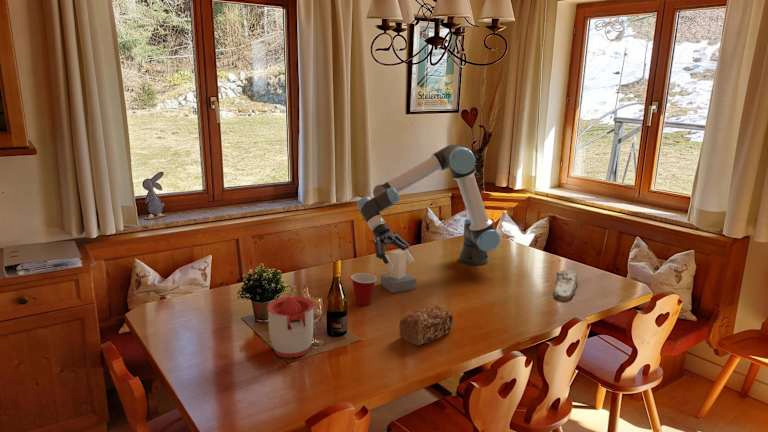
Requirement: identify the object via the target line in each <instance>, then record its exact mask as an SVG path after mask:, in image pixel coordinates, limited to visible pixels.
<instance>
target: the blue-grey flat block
mask: <svg viewBox="0 0 768 432" xmlns="http://www.w3.org/2000/svg"><path fill="white" fill-rule="evenodd" d="M380 285H382V286H383V287H384V288H385V289H387V290H388V291H389V292H390V293H392V294H394V293H401V292H405V291H410V290H412V291H413V290H416V289H417V279H416V278H415V277H413V276H412V275H411V274H409V273H408V272H406V277H403V278H401V279H396V278H392V277H390V272H387V273H382V274H381V273H380Z"/></svg>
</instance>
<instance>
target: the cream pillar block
mask: <svg viewBox="0 0 768 432" xmlns="http://www.w3.org/2000/svg"><path fill="white" fill-rule="evenodd" d="M389 253H390V254H389V256H390V257H389V259H390V261H391V263H392V264H393V266H394V268H393V269H392V270H389V273H390V277H392V278H396V279H401V278H403V277H406V273H407V258H406V251H403V250H402V249H395V250H392V251H390V252H389Z"/></svg>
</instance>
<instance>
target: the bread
mask: <svg viewBox="0 0 768 432" xmlns="http://www.w3.org/2000/svg"><path fill="white" fill-rule="evenodd" d="M452 327H453V315H452V313H451V312H450V310H447V309H445V308H444V307H442V306H440V305H439V306H438V305H433V306H428V307H422V308H419V309H417V310H415V311H411V312H410V313H408V314H406V315H404V316H403V317H402V318H401V319H400V320H399V326H398V329H399V335H400V337H401V339H402V340H404V341H406V342H407V343H410V344H412V345H414V346H417V347H418V346H422V344H426V343H429V342H431V341H434V340H436V339H439V338H441V337H442V336H444V335H446V334H449V333H450V332H451V331H452Z"/></svg>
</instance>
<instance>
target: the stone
mask: <svg viewBox="0 0 768 432" xmlns="http://www.w3.org/2000/svg"><path fill="white" fill-rule="evenodd" d="M578 281H579V279H578V275H577V274H576V272H574V271H572V270H568V269H567V270H563V269H561V270H558V271H556V283H555V285H554V287H553V295H554V298H555V299H556V300H557V301H560V300H561V302H568V301H570V300H571V297H573V296H574V294H575V293H576V289H577V285H578Z"/></svg>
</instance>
